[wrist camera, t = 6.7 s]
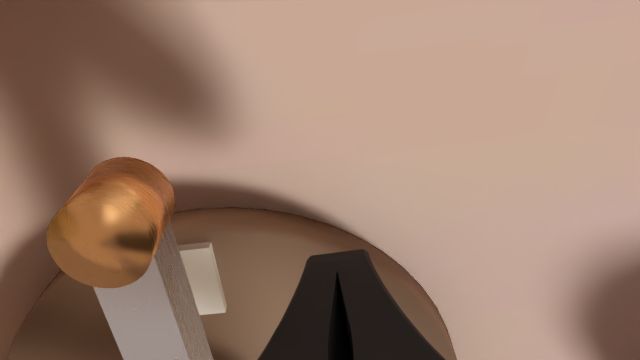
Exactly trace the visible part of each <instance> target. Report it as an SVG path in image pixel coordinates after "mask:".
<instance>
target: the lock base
mask: <svg viewBox="0 0 640 360" xmlns="http://www.w3.org/2000/svg"><path fill="white" fill-rule="evenodd" d="M170 222H171V226H172V229H173V232H174V235H175V238H176V242H177V245H178V248H179V251H180V254H181V258H182V261H183V264H184V267H185V270H186V274H187V277H188V280H189V283H190V286H191V290H192V293H193V296H194V299H195V302H196V306H197V309H198V312H199V315H200V318H201V322H202V325H203V328H204V331H205V334H206V338H207V341H208V344H209V347H210V350H211V354H212V357H213V360H257V359H258V358H259V356H260V355H261V353H262V352H263V350H264V349H265V347H266V345H267V344H268V342H269V340H270V339H271V337H272V335H273V333H274V332H275V330H276V328H277V326H278V325H279V323H280V321H281V319H282V317H283V316H284V314H285V311H286V309H287V307H288V305H289V303H290V301H291V299H292V297H293V295H294V293H295V291H296V288H297V286H298V284H299V281H300V279H301V276H302V273H303V271H304V268H305V265H306V261H307V259H308V258H309V257H310V256H312V255H320V254H328V253H335V252H343V251H351V250H358V249H364V250H366V251H367V252H369V256H370V259H371V261H372V263H373V265H374V268H375V269H376V271H377V273H378V275H379V277H380V278H381V280H382V282H383V284H384V285H385V287H386V288H387V290H388V291H389V293H390V294H391V296H392V297H393V298H394V300H395V301H396V303H397V304H398V306H399V307H400V308H401V310H402V311H403V312H404V314H405V315H406V316H407V317H408V319H409V320H410V321H411V322H412V324H413V325H414V326H415V327H416V328H417V330H418V331H419V332H420V333H421V334H422V335H423V336H424V338H425V339H426V340H427V341H428V342H429V343H430V344H431V345H432V346H433V347H434V348H435V349H436V350H437V351H438V352H439V353H440V354H441V355H442V356H443V357H444V358H445V359H446V360H457V358H456V355H455V352H454V349H453V346H452V343H451V340H450V336H449V333H448V330H447V328H446V325H445V323H444V321H443V319H442V317H441V315H440V313H439V311H438V309H437V307H436V306H435V304H434V303H433V301H432V300H431V299H430V297H429V296H428V294H427V293H426V291H425V290H424V289H423V287H422V286H421V285H420V284H419V283H418V282H417V281H416V280H415V279H414V278H413V277H412V276H411V275H410V274H409V273H408V272H407V271H406V270H405V269H404V268H403V267H401V266H400V265H399V264H398V263H396V262H395V261H394V260H393V259H391V258H390V257H389V256H387V255H386V254H385V253H384V252H382V251H380V250H379V249H377V248H375V247H373V246H372V245H370V244H368V243H367V242H365V241H363V240H362V239H360V238H358V237H356V236H354V235H351V234H349V233H347V232H344V231H342V230H340V229H338V228H335V227H333V226H331V225H328V224H325V223H321V222H318V221H315V220H311V219H308V218H305V217H301V216H298V215H292V214H287V213H281V212H276V211H270V210H263V209H248V208H233V207H230V208H209V209H195V210H189V211H183V212H177V213H173V214H172V217H171V219H170ZM7 360H123V357H122V355H121V352H120V350H119V348H118V345H117V343H116V340H115V338H114V336H113V333H112V331H111V329H110V326H109V324H108V321H107V319H106V317H105V314H104V312H103V309H102V307H101V305H100V302H99V300H98V297H97V295H96V293H95V290H94V288H93V286H89V285H86V284H83V283H81V282H79V281H77V280H75V279H73V278H71V277H70V276H69V275H67V274H66V273H65V272H64V271H62V270H61V271H60V272H59V273H58V275H57V276H56V277H55V278H54V279H53V281H52V282H51V283H50V284H49V285H48V287H47V288H46V289H45V291H44V292H43V294H42V295H41V297H40V298H39V300H38V301H37V302H36V304H35V305H34V307H33V308H32V310H31V311H30V313H29V314H28V315H27V317H26V319H25V320H24V322H23V324H22V326H21V327H20V329H19V331H18V333H17V334H16V336H15V338H14V341H13V344H12V347H11V350H10V353H9V356H8V359H7Z"/></svg>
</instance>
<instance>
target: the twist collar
mask: <svg viewBox="0 0 640 360" xmlns="http://www.w3.org/2000/svg"><path fill="white" fill-rule="evenodd" d="M174 208H175V195H174V191H173V188H172V186H171V184H170V182H169V181H168V179H167V178H166V176H165V175H164V174H163V173H162V172H161V171H159V170H158V169H157V168H156V167H154V166H153V165H151V164H149V163H147V162H145V161H142V160H139V159H136V158H130V157H117V158H112V159H109V160H106V161H104V162H102V163H100V164H99V165H98V166H96V167H95V168H94V169H93V170H92V172H91V173H90V174H89V175H88V177H87V178H86V179H85V180H84V181H83V183H82V184H81V185H80V186H79V187H78V189H77V190H76V191H75V192H74V193H73V195H72V196H71V197H70V198H69V200H68V201H67V202H66V203H65V204H64V206H63V207H62V208H61V209H60V210H59V212H58V213H57V214H56V215H55V217H54V218H53V219H52V221H51V222H50V224H49V226H48V230H47V236H46V239H47V247H48V250H49V253H50V255H51V257H52V259H53V260H54V261H55V263H56V264H57V265H58V266H59V268H60V269H61V270H62V271H64V272H65V273H66V274H67V275H69V276H70V277H71V278H73V279H75V280H77V281H79V282H81V283H83V284H86V285H89V286H93V288H94V290H95V293H96V295H97V297H98V300H99V302H100V305H101V307H102V309H103V312H104V314H105V317H106V319H107V321H108V324H109V326H110V329H111V331H112V333H113V336H114V338H115V340H116V343H117V345H118V348H119V350H120V352H121V355H122V357H123V360H213V357H212V354H211V350H210V347H209V344H208V341H207V338H206V334H205V331H204V328H203V325H202V322H201V318H200V315H199V312H198V309H197V306H196V302H195V299H194V296H193V293H192V290H191V286H190V283H189V280H188V277H187V274H186V270H185V267H184V264H183V261H182V258H181V254H180V251H179V248H178V245H177V242H176V238H175V235H174V232H173V229H172V226H171V222H170V219H171V217H172V214H173V212H174Z"/></svg>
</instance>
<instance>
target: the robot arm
mask: <svg viewBox="0 0 640 360" xmlns="http://www.w3.org/2000/svg"><path fill="white" fill-rule="evenodd" d="M257 360H446V359H445V358H444V357H443V356H442V355H441V354H440V353H439V352H438V351H437V350H436V349H435V348H434V347H433V346H432V345H431V344H430V343H429V342H428V341H427V340H426V339H425V338H424V336H423V335H422V334H421V333H420V332H419V331H418V330H417V328H416V327H415V326H414V325H413V324H412V322H411V321H410V320H409V319H408V317H407V316H406V315H405V314H404V312H403V311H402V310H401V308H400V307H399V306H398V304H397V303H396V301H395V300H394V298H393V297H392V296H391V294H390V293H389V291H388V290H387V288H386V287H385V285H384V284H383V282H382V280H381V278H380V277H379V275H378V273H377V271H376V269H375V268H374V265H373V263H372V261H371V259H370V256H369V252H367V251H366V250H364V249H358V250H351V251H343V252H335V253H328V254H320V255H312V256H310V257H309V258H308V259H307V261H306V265H305V268H304V271H303V273H302V276H301V279H300V281H299V284H298V286H297V288H296V291H295V293H294V295H293V297H292V299H291V301H290V303H289V305H288V307H287V309H286V311H285V314H284V316H283V317H282V319H281V321H280V323H279V325H278V326H277V328H276V330H275V332H274V333H273V335H272V337H271V339H270V340H269V342H268V344H267V345H266V347H265V349H264V350H263V352H262V353H261V355H260V356H259V358H258V359H257Z"/></svg>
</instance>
